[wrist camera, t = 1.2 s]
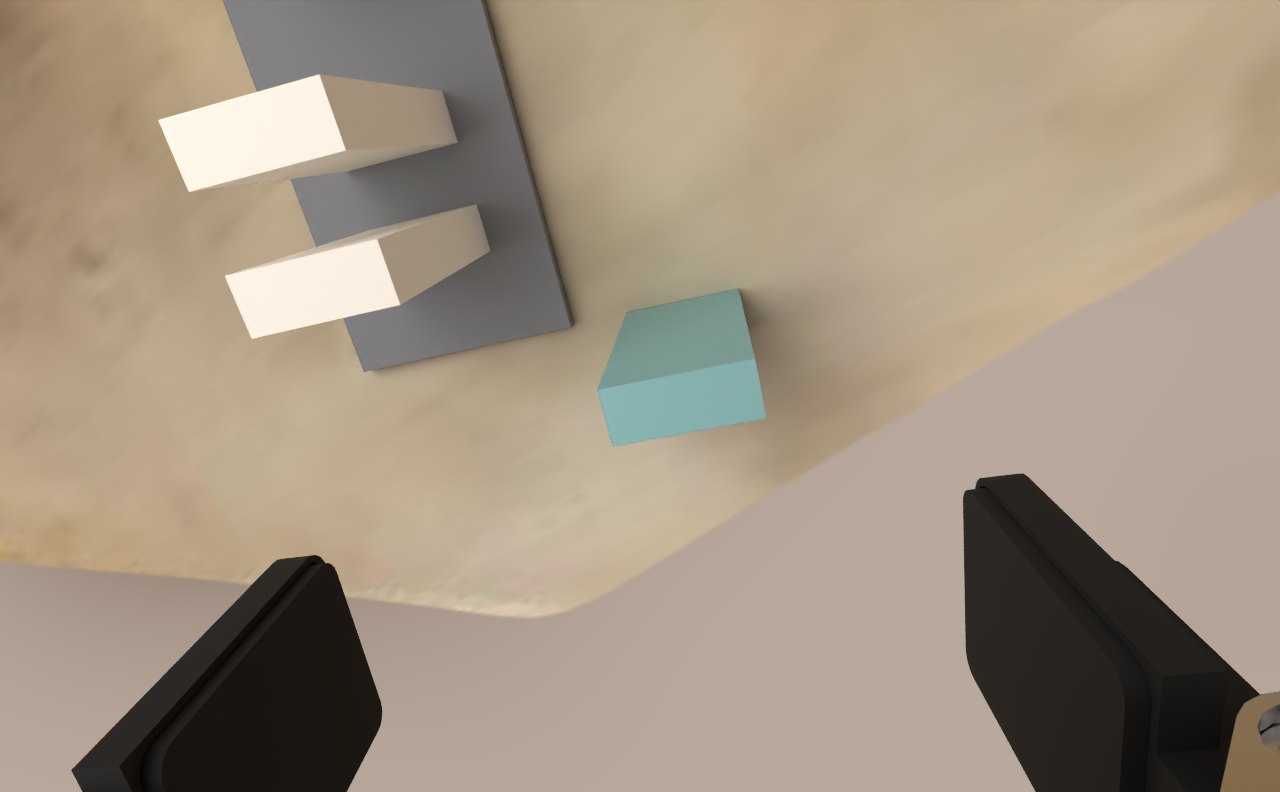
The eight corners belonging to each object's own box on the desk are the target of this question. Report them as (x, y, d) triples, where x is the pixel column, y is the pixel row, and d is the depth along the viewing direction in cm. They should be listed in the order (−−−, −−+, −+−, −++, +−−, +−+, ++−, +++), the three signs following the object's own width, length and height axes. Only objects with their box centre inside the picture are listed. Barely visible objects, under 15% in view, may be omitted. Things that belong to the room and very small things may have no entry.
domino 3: (738, 288, 31) (754, 358, 22) (746, 332, 32) (766, 418, 23) (626, 312, 32) (597, 389, 23) (637, 354, 33) (612, 446, 23)
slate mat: (348, -498, 23) (339, -514, 23) (572, 324, 32) (570, 327, 32) (83, -389, 25) (69, -401, 24) (369, 367, 34) (363, 371, 33)
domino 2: (476, 204, 30) (377, 238, 21) (490, 251, 31) (400, 305, 22) (367, 231, 31) (224, 275, 22) (383, 276, 32) (251, 338, 22)
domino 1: (442, 90, 29) (319, 74, 20) (457, 142, 30) (345, 150, 20) (329, 121, 30) (158, 120, 20) (346, 171, 30) (188, 191, 21)
